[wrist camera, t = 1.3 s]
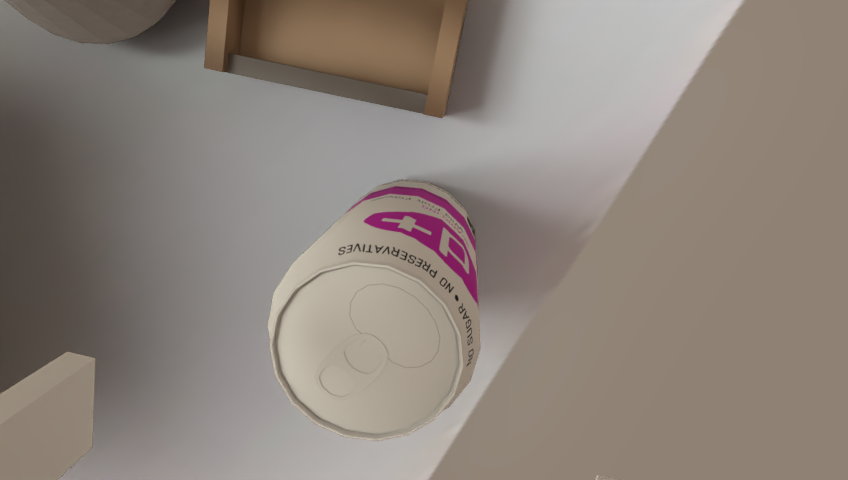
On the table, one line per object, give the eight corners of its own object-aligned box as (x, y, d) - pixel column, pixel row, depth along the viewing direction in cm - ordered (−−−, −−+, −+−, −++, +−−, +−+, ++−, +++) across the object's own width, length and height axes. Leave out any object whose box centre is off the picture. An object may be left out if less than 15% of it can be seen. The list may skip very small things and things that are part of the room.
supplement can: (407, 149, 32) (356, 194, 18) (503, 244, 33) (529, 361, 19) (318, 241, 34) (208, 350, 20) (412, 329, 35) (372, 492, 21)
